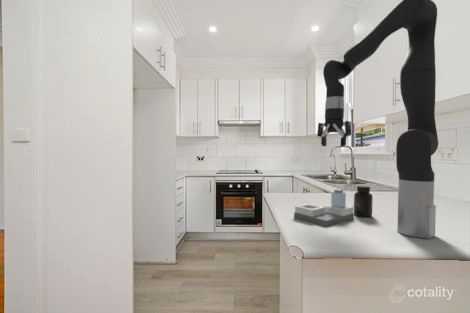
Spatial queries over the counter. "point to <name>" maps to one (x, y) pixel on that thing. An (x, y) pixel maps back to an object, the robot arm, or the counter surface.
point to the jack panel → (323, 214)
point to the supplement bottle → (363, 202)
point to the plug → (338, 199)
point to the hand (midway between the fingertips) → (333, 146)
